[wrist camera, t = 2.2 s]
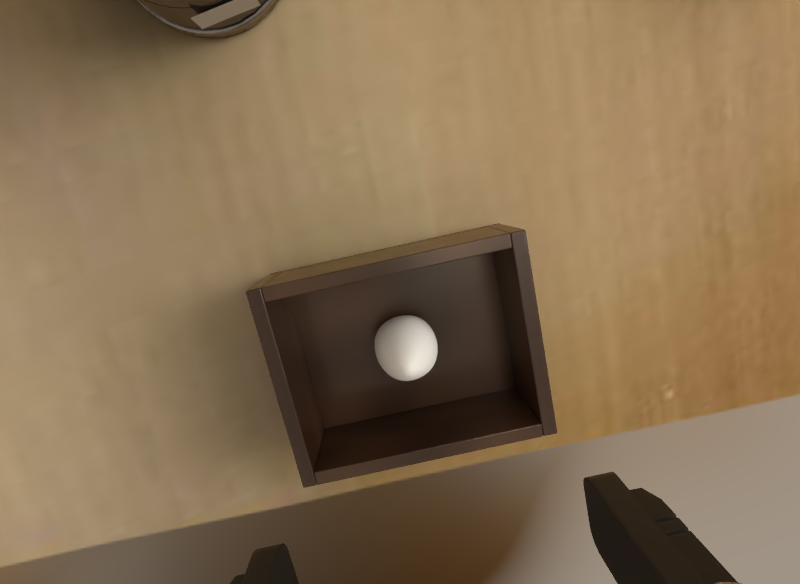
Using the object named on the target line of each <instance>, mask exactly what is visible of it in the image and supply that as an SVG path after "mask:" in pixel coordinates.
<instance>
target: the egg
mask: <svg viewBox="0 0 800 584" xmlns="http://www.w3.org/2000/svg"><path fill="white" fill-rule="evenodd" d="M374 344H375V353H376V357H377V359H378V362H379V364H380V365H381V367H382V368H383V370H384V371H385V372H386V373H387V374H388V375H390V376H391V377H393V378H395V379H398V380H401V381H411V380H415V379H418V378H420V377H422V376H424V375H425V374H427V373H428V372H429V371H430V370H431V368H432V367H433V366H434V364H435V361H436V358H437V354H438V345H437V340H436V337H435V334H434V332H433V330H432V329H431V327H430V326H429V325H428V324H427V322H425V321H424V320H423V319H421V318H419V317H416V316H412V315H402V316H397V317H394V318H391V319H389V320H388V321H386V322H385V323H384V324H383V325H381V327H380V328H379V329H378V331H377V333H376V336H375V342H374Z"/></svg>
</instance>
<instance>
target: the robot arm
mask: <svg viewBox="0 0 800 584" xmlns="http://www.w3.org/2000/svg"><path fill="white" fill-rule="evenodd" d="M137 1H138V2H139V3H140V4H141V5H142V6H143V7H144V8H145V9H146V10H147V11H149V12H150V13H151V14H153V15H154V16H155V17H156V18H158V19H159V20H160V21H162V22H163V23H165V24H166V25H168V26H170V27H172V28H174V29H176V30H178V31H180V32H183V33H185V34H189V35H192V36H197V37H203V38H221V37H228V36H231V35H235V34H238V33H241V32H243V31H245V30H247V29H249V28H251V27H252V26H254V25H255V24H257V23H258V22H259V21H261V20H262V19H263V18H264V17H265V16H266V15H267V14H268V13H269V12H270V11H271V10H272V8H273V7H274V6H275V4H276V3H277V1H278V0H137ZM584 491H585V497H586V503H587V510H588V516H589V523H590V528H591V533H592V536H593V539H594V542H595V544H596V547H597V549H598V551H599V553H600V555H601V556H602V558H603V560H604V562H605V563H606V565H607V567H608V568H609V570H610V572H611V573H612V575H613V576H614V578H615V580H616V582H617V583H618V584H740V583H738V582H737V581H736V580H735V579H734V578H733V577H732V576H731V575H730V574H729V573H728V571H727V570H726V569H725V568H724V567H723V566H722V565H721V564H720V563H719V562H718V561H717V559H716V558H715V557H714V556H713V555H712V554H711V553H710V552H709V551H708V550H707V548H706V547H705V546H704V545H703V544H702V543H701V542H700V541H699V540H698V539H697V538H696V537H695V535H694V534H693V533H692V532H691V531H688V528H687V527H686V526H685V524H684V523H683V522H682V521H681V520H680V519H679V518H677V517H676V515H675V514H674V513H673V511H672V510H671V509H670V508H669V507H668V506H667V505H666V504H665V503H664V502H663V501H662V499H660V498H658V497H656V496H654V495H653V494H651V493H649V492H648V491H646V490H644V489H642V488H638V489H633V490H629V489H628V488H627V487H626V486H625V484H624V483H623V482H622V481H621V480H620V478H619V477H618V476H617V475H616V474H615V473H614V472H609V473H605V474H600V475H595V476H591V477H587V478H584ZM230 584H299V583H298V580H297V576H296V573H295V570H294V567H293V564H292V561H291V557H290V555H289V551H288V548H287V546H286V545H285V544H278V545H273V546H269V547H264V548H260V549H256V550H255V551H254V552H253V554H252V557H251V559H250V562H249V565H248V568H247V570H246V573H245V574H242V575H238V576H236V577H235V578H234V579H233V580H232V582H231V583H230Z"/></svg>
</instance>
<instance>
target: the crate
mask: <svg viewBox="0 0 800 584" xmlns="http://www.w3.org/2000/svg"><path fill="white" fill-rule="evenodd" d="M246 294H247V298H248V301H249V304H250V308H251V311H252V315H253V318H254V321H255V325H256V328H257V332H258V335H259V338H260V342H261V345H262V348H263V352H264V355H265V359H266V362H267V365H268V369H269V372H270V376H271V379H272V382H273V386H274V389H275V393H276V396H277V399H278V403H279V406H280V410H281V413H282V416H283V420H284V423H285V427H286V430H287V433H288V437H289V440H290V443H291V447H292V450H293V454H294V457H295V460H296V464H297V467H298V471H299V474H300V477H301V481H302V484H303V487H309V486H314V485H316V484H318V485H319V484H323V483H328V482H333V481H337V480H342V479H347V478H351V477H356V476H361V475H365V474H370V473H374V472H379V471H384V470H388V469H393V468H398V467H402V466H407V465H412V464H416V463H421V462H425V461H430V460H435V459H439V458H444V457H449V456H453V455H458V454H463V453H467V452H472V451H476V450H481V449H486V448H490V447H495V446H500V445H504V444H509V443H514V442H518V441H523V440H527V439H532V438H537V437H541V436H543V435H544V436H546V435H550V434H555V433H557V428H556V421H555V415H554V409H553V402H552V396H551V390H550V383H549V377H548V371H547V364H546V358H545V352H544V345H543V339H542V333H541V326H540V320H539V314H538V307H537V301H536V294H535V288H534V282H533V275H532V269H531V263H530V256H529V250H528V244H527V237H526V231H525V230H523V229H519V228H515V227H511V226H506V225H502V224H494V225H490V226H485V227H481V228H476V229H472V230H467V231H463V232H458V233H453V234H449V235H444V236H440V237H435V238H431V239H426V240H422V241H417V242H413V243H408V244H404V245H399V246H395V247H390V248H385V249H381V250H376V251H372V252H367V253H363V254H358V255H354V256H349V257H345V258H340V259H336V260H331V261H326V262H322V263H317V264H313V265H308V266H304V267H299V268H295V269H290V270H286V271H281V272H277V273H272V274H270V275H269V276H268V277H266V278H265V279H263V280H262V281H260V282H259V283H257V284H256V285H254V286H253V287H252V288H250V289H249V290H247V291H246ZM402 315H412V316H416V317H419V318H421V319H423V320H424V321H425V322H427V324H428V325H429V326H430V327H431V329H432V330H433V332H434V334H435V337H436V340H437V345H438V354H437V358H436V361H435V364H434V366H433V367H432V368H431V370H430V371H429V372H428V373H427V374H425V375H424V376H422V377H420V378H418V379H415V380H411V381H401V380H398V379H395V378H393V377H391V376H390V375H388V374H387V373H386V372H385V371H384V370H383V368H382V367H381V365H380V364H379V362H378V359H377V357H376V353H375V344H374V342H375V336H376V333H377V331H378V329H379V328H380V327H381V325H383V324H384V323H385V322H386V321H388V320H389V319H391V318H394V317H397V316H402Z"/></svg>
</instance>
